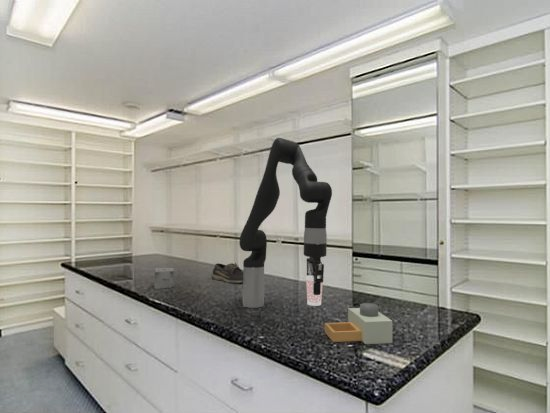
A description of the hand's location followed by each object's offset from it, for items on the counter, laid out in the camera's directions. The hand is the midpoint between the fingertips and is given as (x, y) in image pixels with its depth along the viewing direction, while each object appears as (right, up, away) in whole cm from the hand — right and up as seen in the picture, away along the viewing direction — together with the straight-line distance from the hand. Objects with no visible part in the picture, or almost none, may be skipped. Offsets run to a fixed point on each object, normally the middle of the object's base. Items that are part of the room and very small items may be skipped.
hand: (314, 292), depth 119 cm
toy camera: (+14, -15, +2) cm, 21 cm away
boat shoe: (-39, -16, +94) cm, 103 cm away
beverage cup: (0, -4, 0) cm, 4 cm away
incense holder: (-73, -16, +74) cm, 105 cm away
